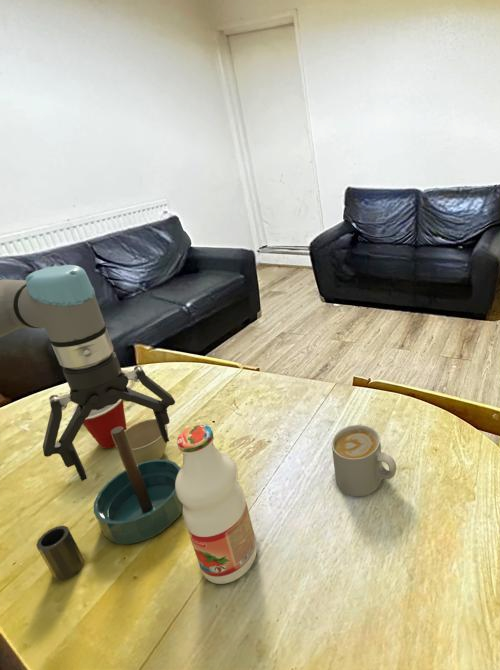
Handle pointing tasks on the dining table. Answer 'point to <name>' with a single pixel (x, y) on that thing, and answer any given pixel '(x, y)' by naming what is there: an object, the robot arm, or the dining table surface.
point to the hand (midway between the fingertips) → (126, 456)
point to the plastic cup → (104, 423)
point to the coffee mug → (360, 460)
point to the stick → (132, 468)
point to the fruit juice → (214, 507)
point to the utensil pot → (60, 553)
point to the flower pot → (146, 440)
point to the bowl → (123, 507)
